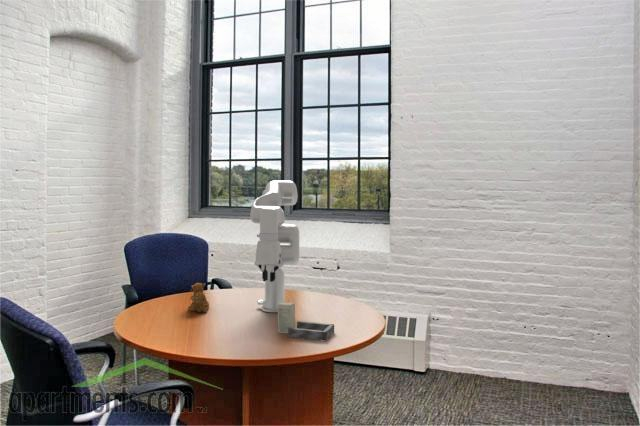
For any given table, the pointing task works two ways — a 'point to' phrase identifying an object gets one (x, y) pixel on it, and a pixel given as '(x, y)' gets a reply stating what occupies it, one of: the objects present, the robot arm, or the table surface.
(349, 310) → the table surface
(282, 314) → the skincare box
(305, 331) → the u rest
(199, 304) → the brown teddy bear
